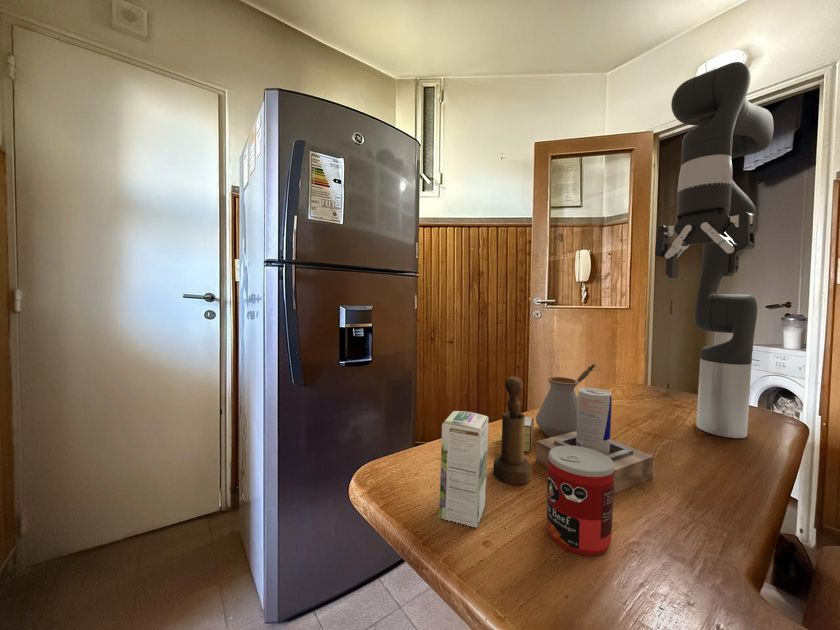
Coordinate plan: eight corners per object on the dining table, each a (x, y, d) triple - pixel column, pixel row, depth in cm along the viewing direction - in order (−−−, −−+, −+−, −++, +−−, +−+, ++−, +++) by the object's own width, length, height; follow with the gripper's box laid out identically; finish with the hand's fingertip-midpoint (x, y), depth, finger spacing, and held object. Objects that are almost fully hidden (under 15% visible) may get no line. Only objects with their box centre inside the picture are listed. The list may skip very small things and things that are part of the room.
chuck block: (583, 447, 74) (584, 426, 73) (652, 478, 61) (653, 453, 61) (536, 460, 67) (536, 438, 67) (602, 498, 55) (603, 470, 55)
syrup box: (449, 498, 55) (451, 409, 54) (486, 506, 52) (488, 414, 52) (438, 519, 49) (440, 421, 48) (479, 530, 47) (481, 427, 46)
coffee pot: (570, 448, 73) (573, 379, 72) (525, 431, 82) (526, 369, 81) (616, 426, 85) (619, 367, 85) (572, 413, 95) (574, 360, 94)
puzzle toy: (507, 438, 78) (507, 413, 78) (533, 442, 76) (533, 417, 75) (502, 448, 73) (503, 422, 72) (530, 453, 71) (531, 426, 70)
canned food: (536, 519, 50) (539, 445, 49) (589, 516, 50) (592, 443, 50) (563, 559, 42) (566, 473, 41) (624, 556, 43) (628, 470, 42)
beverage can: (613, 478, 61) (616, 396, 60) (579, 475, 62) (582, 393, 61) (603, 463, 66) (606, 387, 66) (572, 460, 67) (574, 385, 67)
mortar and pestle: (531, 469, 64) (534, 374, 63) (530, 488, 58) (533, 383, 57) (495, 463, 66) (497, 371, 65) (491, 481, 60) (493, 379, 59)
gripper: (765, 179, 57) (759, 276, 58) (671, 200, 70) (667, 279, 71) (745, 171, 54) (739, 274, 55) (650, 194, 66) (646, 278, 67)
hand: (698, 277), depth 63 cm, fingers open, 8 cm apart
